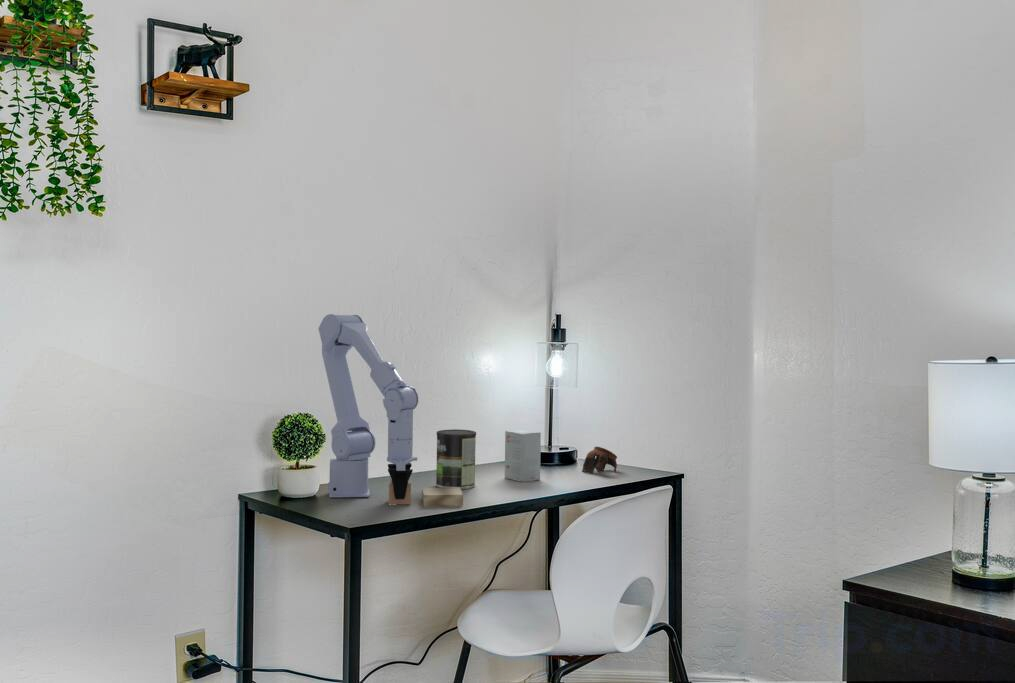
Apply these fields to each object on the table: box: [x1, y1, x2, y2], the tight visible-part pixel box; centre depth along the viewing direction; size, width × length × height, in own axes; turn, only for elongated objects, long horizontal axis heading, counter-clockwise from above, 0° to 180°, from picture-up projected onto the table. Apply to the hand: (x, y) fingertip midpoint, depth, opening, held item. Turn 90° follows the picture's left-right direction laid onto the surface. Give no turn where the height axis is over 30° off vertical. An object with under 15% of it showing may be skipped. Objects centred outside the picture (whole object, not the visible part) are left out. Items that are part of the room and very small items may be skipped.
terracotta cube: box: [388, 478, 412, 506], centre depth 203 cm, size 5×5×5 cm
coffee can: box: [435, 428, 477, 490], centre depth 225 cm, size 10×10×14 cm
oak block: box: [421, 487, 464, 507], centre depth 204 cm, size 9×9×3 cm
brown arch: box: [581, 446, 618, 474], centre depth 249 cm, size 12×10×8 cm
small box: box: [504, 429, 542, 483], centre depth 236 cm, size 8×6×13 cm
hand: (399, 496), depth 203 cm, fingers closed on terracotta cube, 5 cm apart
